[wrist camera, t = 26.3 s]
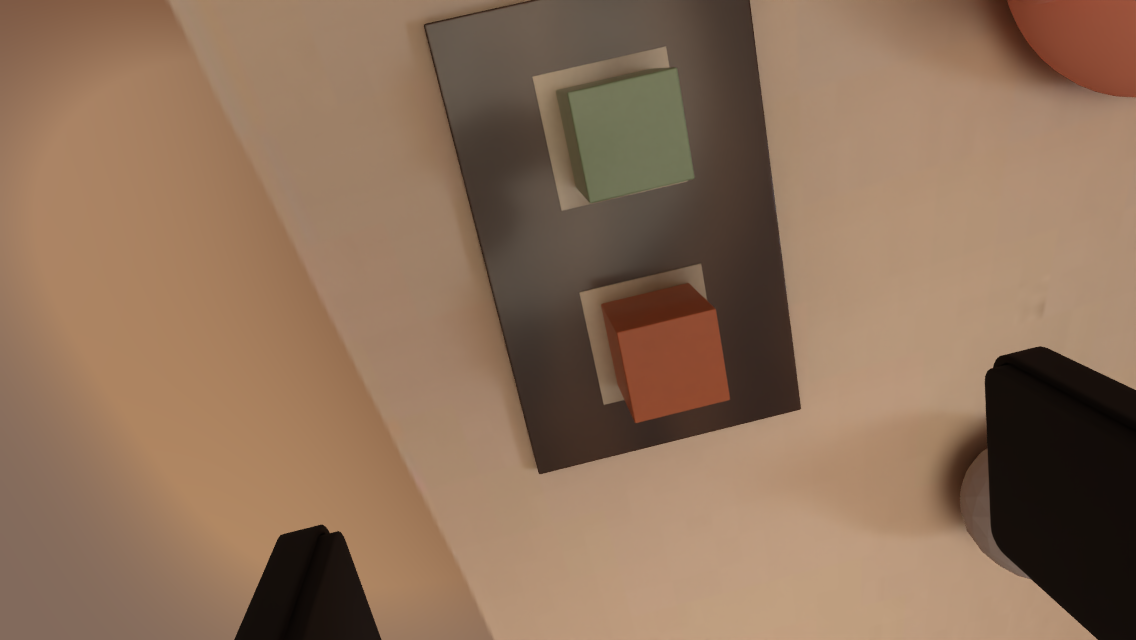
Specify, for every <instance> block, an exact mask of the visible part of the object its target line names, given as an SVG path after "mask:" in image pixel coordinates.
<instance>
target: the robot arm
mask: <svg viewBox="0 0 1136 640" xmlns="http://www.w3.org/2000/svg"><path fill="white" fill-rule="evenodd" d="M985 397H986V422H987V448H988V474H989V499H990V525H991V532H992V535H993V538H994V540H995V543H996V545H997V546H998V548H999V549H1000V551H1001V552H1002V553H1003V554H1004V555H1005V556H1006V557H1007V558H1008V559H1010V560H1011V561H1012V562H1013V563H1014V564H1015V565H1016V566H1017V567H1018V568H1019V569H1021V570H1022V571H1023V572H1024V573H1025V574H1026V575H1027V576H1028V577H1029V578H1030V579H1032V580H1033V581H1034V582H1035V583H1036V584H1037V585H1038V586H1039V587H1040V588H1042V589H1043V590H1044V591H1045V592H1046V593H1047V594H1048V595H1049V596H1050V597H1051V598H1053V599H1054V600H1055V601H1056V602H1057V603H1058V604H1059V605H1060V606H1061V607H1062V608H1064V609H1065V610H1066V611H1067V612H1068V613H1069V614H1070V615H1071V616H1072V617H1074V618H1075V619H1076V620H1077V621H1078V622H1079V623H1080V624H1081V625H1082V626H1083V627H1085V628H1086V629H1087V630H1088V631H1089V632H1090V633H1091V634H1092V635H1093V636H1095V637H1096V638H1097V639H1098V640H1136V390H1134V389H1132V388H1130V387H1128V386H1126V385H1124V384H1122V383H1119V382H1117V381H1115V380H1113V379H1111V378H1109V377H1107V376H1105V375H1103V374H1101V373H1098V372H1096V371H1094V370H1092V369H1090V368H1088V367H1086V366H1084V365H1082V364H1079V363H1077V362H1075V361H1073V360H1071V359H1069V358H1067V357H1065V356H1063V355H1061V354H1058V353H1056V352H1054V351H1052V350H1050V349H1048V348H1045V347H1041V346H1040V347H1035V348H1031V349H1027V350H1023V351H1019V352H1015V353H1011V354H1007V355H1003V356H1000V357H998V358H997V359H996V361H995V363H994V366H993V368H992V369H990V370H988V371H987V373H986V376H985ZM234 640H381V638H380V635H379V632H378V629H377V626H376V624H375V621H374V618H373V615H372V613H371V610H370V607H369V604H368V602H367V599H366V596H365V594H364V590H363V588H362V585H361V582H360V579H359V577H358V574H357V571H356V568H355V566H354V563H353V560H352V557H351V555H350V552H349V549H348V546H347V544H346V541H345V539H344V536H343V535H342V533H341V532H339V531H338V532H333V533H329V531H328V529H327V528H326V527H325V526H324V525H318V526H314V527H310V528H306V529H302V530H298V531H294V532H290V533H286V534H283V535H280V537H279V538H278V540H277V542H276V545H275V547H274V549H273V552H272V554H271V556H270V558H269V561H268V563H267V565H266V568H265V570H264V572H263V575H262V577H261V579H260V582H259V584H258V586H257V588H256V591H255V593H254V595H253V598H252V600H251V602H250V605H249V607H248V609H247V612H246V614H245V616H244V619H243V621H242V623H241V626H240V628H239V630H238V632H237V635H236V637H235V639H234Z"/></svg>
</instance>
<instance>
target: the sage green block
mask: <svg viewBox="0 0 1136 640" xmlns="http://www.w3.org/2000/svg"><path fill="white" fill-rule="evenodd" d="M556 95H557V100H558V104H559V109H560V114H561V119H562V123H563V128H564V133H565V138H566V142H567V147H568V152H569V157H570V161H571V166H572V171H573V176H574V180H575V185H576V188H577V189H578V190H579V192H580V193H581V194H582V195H583V196H584V197H585V198H586V199H587V200H588V202H589V203H595V202H599V201H603V200H607V199H612V198H616V197H620V196H624V195H629V194H633V193H637V192H641V191H646V190H650V189H654V188H658V187H663V186H667V185H671V184H675V183H680V182H684V181H688V180H693V179H694V177H695V176H694V170H693V164H692V158H691V151H690V145H689V139H688V132H687V126H686V120H685V114H684V107H683V101H682V95H681V89H680V82H679V76H678V70H677V68H676V67H671V68H651V69H647V70H642V71H638V72H634V73H629V74H625V75H620V76H616V77H612V78H607V79H603V80H599V81H594V82H590V83H585V84H581V85H577V86H572V87H568V88H564V89H559V90H557V91H556Z"/></svg>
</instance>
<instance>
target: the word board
mask: <svg viewBox="0 0 1136 640" xmlns="http://www.w3.org/2000/svg"><path fill="white" fill-rule="evenodd" d="M424 28H425V32H426V36H427V40H428V44H429V48H430V51H431V55H432V59H433V63H434V67H435V71H436V75H437V79H438V83H439V87H440V90H441V94H442V98H443V102H444V106H445V110H446V114H447V118H448V122H449V125H450V129H451V133H452V137H453V141H454V145H455V149H456V153H457V157H458V161H459V164H460V168H461V172H462V176H463V180H464V184H465V188H466V192H467V196H468V200H469V203H470V207H471V211H472V215H473V219H474V223H475V227H476V231H477V235H478V238H479V242H480V246H481V250H482V254H483V258H484V262H485V266H486V270H487V274H488V277H489V281H490V285H491V289H492V293H493V297H494V301H495V305H496V309H497V313H498V316H499V320H500V324H501V328H502V332H503V336H504V340H505V344H506V348H507V351H508V355H509V359H510V363H511V367H512V371H513V375H514V379H515V383H516V387H517V390H518V394H519V398H520V402H521V406H522V410H523V414H524V418H525V422H526V426H527V429H528V433H529V437H530V441H531V445H532V449H533V453H534V457H535V461H536V464H537V468H538V472H539V474H543V473H547V472H551V471H555V470H559V469H563V468H567V467H571V466H575V465H579V464H583V463H587V462H591V461H595V460H599V459H603V458H607V457H611V456H615V455H619V454H623V453H627V452H631V451H635V450H639V449H643V448H647V447H651V446H655V445H659V444H663V443H667V442H671V441H675V440H679V439H683V438H687V437H691V436H695V435H700V434H704V433H708V432H712V431H716V430H720V429H724V428H728V427H732V426H736V425H740V424H744V423H748V422H752V421H756V420H760V419H764V418H768V417H772V416H776V415H780V414H784V413H788V412H792V411H796V410H800V409H801V405H800V397H799V389H798V381H797V373H796V366H795V358H794V350H793V342H792V334H791V326H790V318H789V310H788V302H787V294H786V286H785V278H784V270H783V262H782V254H781V246H780V238H779V230H778V222H777V214H776V206H775V199H774V191H773V183H772V175H771V167H770V159H769V151H768V143H767V135H766V127H765V119H764V111H763V103H762V95H761V87H760V79H759V71H758V63H757V55H756V47H755V40H754V32H753V24H752V16H751V8H750V0H531V1H527V2H522V3H518V4H513V5H509V6H504V7H500V8H495V9H491V10H486V11H482V12H477V13H473V14H468V15H464V16H459V17H455V18H450V19H446V20H441V21H437V22H432V23H428V24H425V25H424ZM671 67H676V68H677V70H678V76H679V82H680V89H681V95H682V101H683V107H684V114H685V120H686V126H687V132H688V139H689V145H690V151H691V158H692V164H693V170H694V176H695V177H694V179H693V180H688V181H684V182H680V183H675V184H671V185H667V186H663V187H658V188H654V189H650V190H646V191H641V192H637V193H633V194H629V195H624V196H620V197H616V198H612V199H607V200H603V201H599V202H595V203H589V202H588V200H587V199H586V198H585V197H584V196H583V195H582V194H581V193H580V192H579V190H578V189H577V188H576V185H575V180H574V176H573V171H572V166H571V161H570V157H569V152H568V147H567V142H566V138H565V133H564V128H563V123H562V119H561V114H560V109H559V104H558V100H557V95H556V91H557V90H559V89H564V88H568V87H572V86H577V85H581V84H585V83H590V82H594V81H599V80H603V79H607V78H612V77H616V76H620V75H625V74H629V73H634V72H638V71H642V70H647V69H651V68H671ZM686 283H690V284H691V285H692V286H693V287H694V288H695V289H696V290H697V291H698V292H699V293H700V294H701V295H702V296H703V297H704V298H705V299H706V300H707V301H708V302H709V303H710V304H711V305H712V306H713V307H714V308H715V309H716V313H717V319H718V325H719V332H720V338H721V344H722V351H723V357H724V363H725V369H726V376H727V382H728V388H729V395H730V400H728V401H724V402H719V403H715V404H711V405H707V406H703V407H699V408H695V409H691V410H687V411H683V412H679V413H675V414H671V415H667V416H663V417H659V418H655V419H651V420H647V421H643V422H639V423H635V422H634V420H633V418H632V415H631V413H630V411H629V409H628V407H627V404H626V402H625V400H624V398H623V396H622V393H621V391H620V389H619V387H618V384H617V379H616V374H615V370H614V365H613V360H612V355H611V351H610V346H609V341H608V336H607V332H606V327H605V322H604V317H603V313H602V308H601V304H603V303H607V302H611V301H615V300H619V299H624V298H628V297H632V296H636V295H640V294H644V293H649V292H653V291H657V290H661V289H665V288H669V287H674V286H678V285H682V284H686Z"/></svg>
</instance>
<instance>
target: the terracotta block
mask: <svg viewBox="0 0 1136 640" xmlns="http://www.w3.org/2000/svg"><path fill="white" fill-rule="evenodd" d="M601 308H602V313H603V317H604V322H605V327H606V332H607V336H608V341H609V346H610V351H611V355H612V360H613V365H614V370H615V374H616V379H617V384H618V387H619V389H620V391H621V393H622V396H623V398H624V400H625V402H626V404H627V407H628V409H629V411H630V413H631V415H632V418H633V420H634V422H635V423H639V422H643V421H647V420H651V419H655V418H659V417H663V416H667V415H671V414H675V413H679V412H683V411H687V410H691V409H695V408H699V407H703V406H707V405H711V404H715V403H719V402H724V401H728V400H730V395H729V388H728V382H727V376H726V369H725V363H724V357H723V351H722V344H721V338H720V332H719V325H718V319H717V313H716V309H715V308H714V307H713V306H712V305H711V304H710V303H709V302H708V301H707V300H706V299H705V298H704V297H703V296H702V295H701V294H700V293H699V292H698V291H697V290H696V289H695V288H694V287H693V286H692V285H691V284H690V283H686V284H682V285H678V286H674V287H669V288H665V289H661V290H657V291H653V292H649V293H644V294H640V295H636V296H632V297H628V298H624V299H619V300H615V301H611V302H607V303H603V304H601Z"/></svg>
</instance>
